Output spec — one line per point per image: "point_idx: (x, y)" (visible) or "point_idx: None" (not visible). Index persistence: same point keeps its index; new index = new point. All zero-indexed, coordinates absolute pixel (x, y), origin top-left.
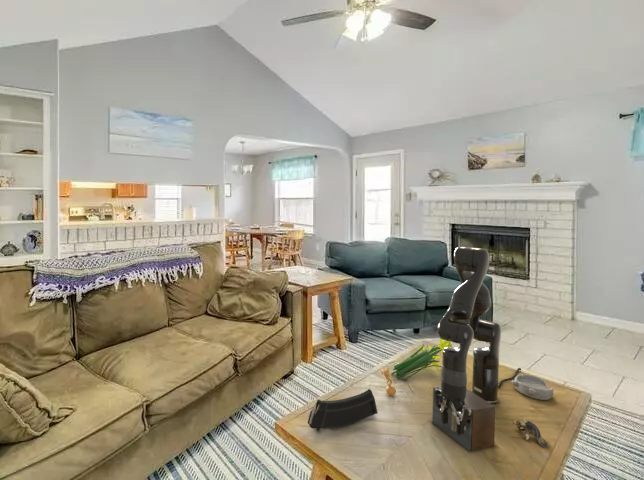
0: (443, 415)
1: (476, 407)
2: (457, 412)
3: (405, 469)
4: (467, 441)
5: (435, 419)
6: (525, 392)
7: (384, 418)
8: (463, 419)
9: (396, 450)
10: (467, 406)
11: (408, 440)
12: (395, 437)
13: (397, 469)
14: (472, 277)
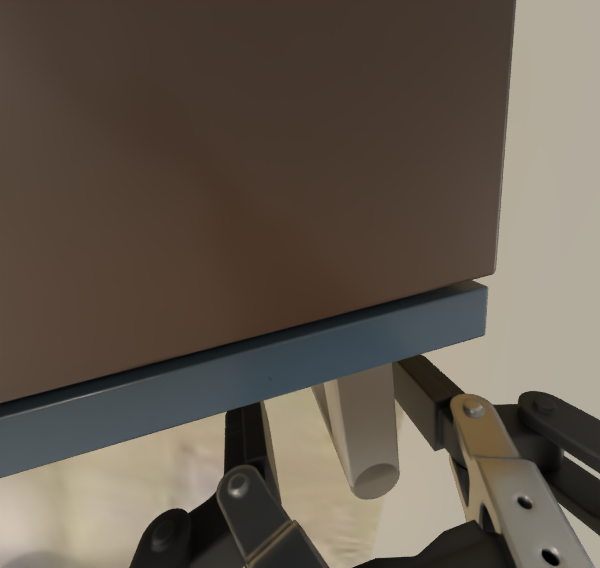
0: (277, 483)
1: (435, 86)
2: (371, 443)
3: (367, 502)
4: None
5: None
6: None
7: (31, 519)
8: (591, 513)
9: None
10: (362, 296)
11: (218, 460)
12: (197, 501)
13: (364, 521)
14: None
